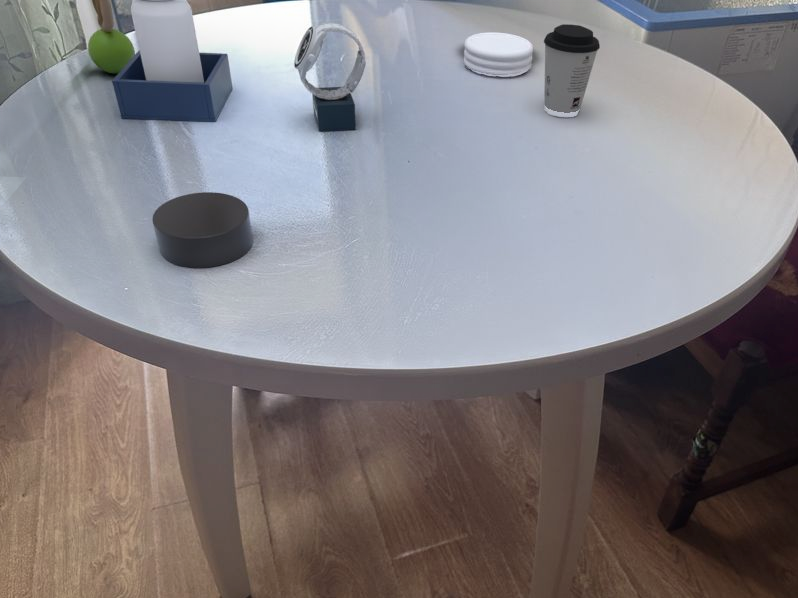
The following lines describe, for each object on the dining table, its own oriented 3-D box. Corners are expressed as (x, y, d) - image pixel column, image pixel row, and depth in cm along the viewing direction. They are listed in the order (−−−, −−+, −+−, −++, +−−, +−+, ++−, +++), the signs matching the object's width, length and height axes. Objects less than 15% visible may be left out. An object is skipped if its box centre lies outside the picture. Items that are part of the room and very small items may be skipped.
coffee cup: (591, 123, 91) (606, 41, 84) (537, 120, 90) (548, 38, 84) (584, 102, 96) (597, 24, 90) (532, 99, 96) (542, 20, 89)
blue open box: (121, 118, 83) (111, 80, 80) (147, 85, 91) (139, 49, 88) (215, 122, 84) (209, 84, 81) (232, 88, 92) (227, 53, 89)
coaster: (510, 84, 100) (512, 58, 97) (450, 67, 103) (451, 42, 101) (542, 65, 106) (545, 41, 104) (485, 50, 110) (486, 26, 108)
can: (163, 113, 84) (139, 4, 76) (142, 95, 87) (118, -11, 80) (215, 103, 87) (198, -3, 79) (193, 86, 91) (174, -17, 83)
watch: (297, 114, 87) (288, 18, 80) (362, 110, 89) (359, 17, 82) (302, 132, 83) (293, 34, 76) (370, 129, 85) (368, 32, 78)
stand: (148, 267, 61) (140, 237, 59) (172, 219, 67) (165, 190, 65) (244, 269, 61) (239, 239, 59) (259, 221, 67) (255, 193, 66)
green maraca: (103, 84, 90) (76, -19, 83) (89, 68, 94) (62, -32, 86) (147, 78, 93) (124, -23, 85) (132, 62, 97) (109, -36, 89)
